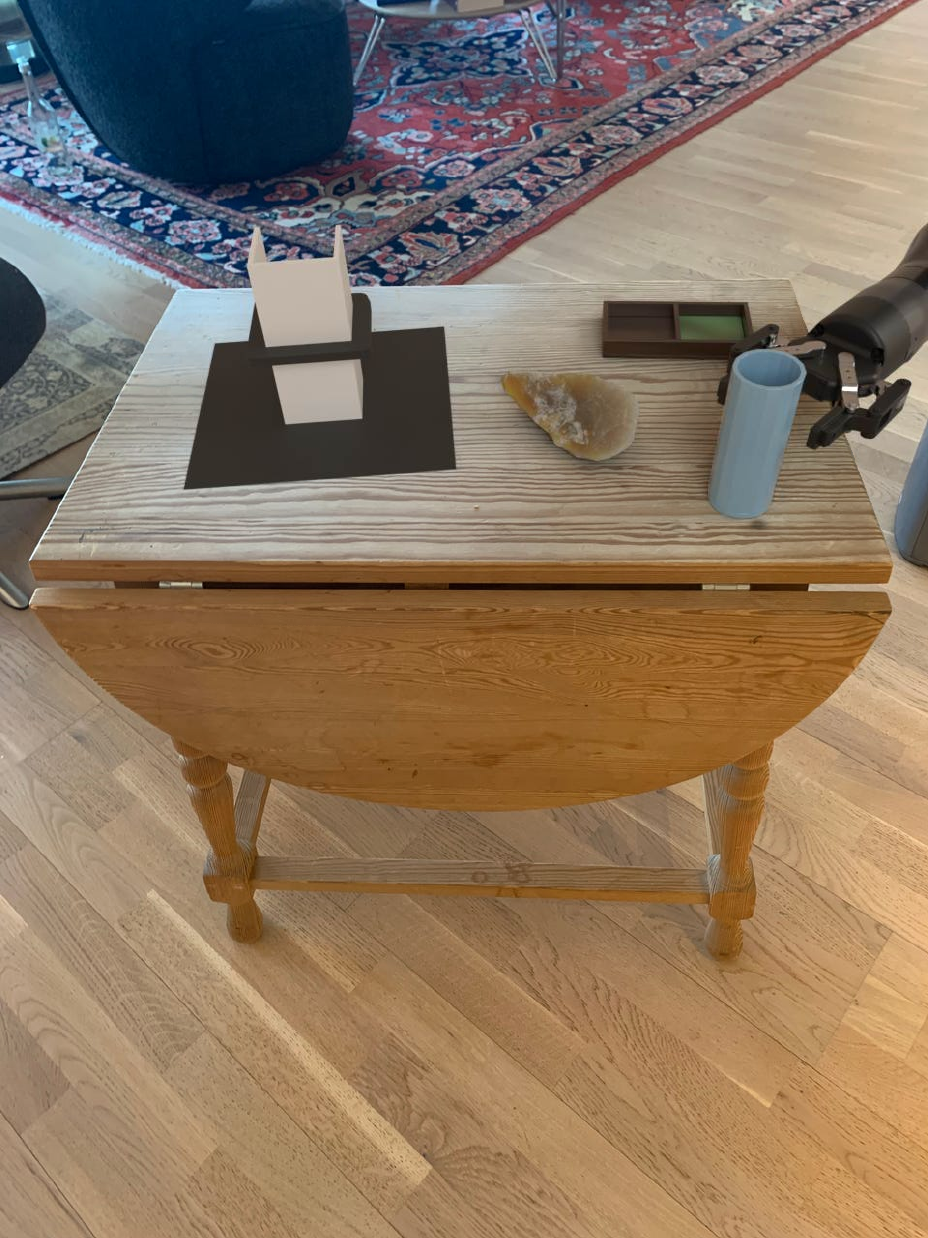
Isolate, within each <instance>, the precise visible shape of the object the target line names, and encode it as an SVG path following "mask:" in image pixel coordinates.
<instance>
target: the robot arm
mask: <svg viewBox="0 0 928 1238" xmlns="http://www.w3.org/2000/svg"><path fill="white" fill-rule="evenodd" d="M779 331H780V326H779V325H778V324H775V323H768V324H766V325H764V326H762V327H761V328H759V329H757V330H756V331H754V333H753V334H751V335H749V336H748V337H746V338H744V339H743V340H741V341H739V342H738V343H736V344H734V345H733V346H731V349H730V354H729V359H728V360H727V365H726V369H725V370H726V371H725V373H726V374H725V375H724V376H722V377H721V378H720V380H719V382H718V387H717V393H716V397H717V404H718V405H720V406H721V407H722V406H723V407H724V405H725V400H726V395H727V390H728V385H729V380H730V375H731V370H732V365H733V363H734V361H735V359H736V358H737V357H738V356H740V355H741V354H743V353H744V352H748V351H752V350H756V349H773V350H778V351H782V352H786V353H788V354H790V355H792V356H794V357H796V358H797V359H799V360H800V361H801V362H802V363H803V364H804V366H805V369H806V372H807V374H806V377H805V381H804V385H803V388H802V392H801V394H805V395H807V396H809V397H810V398H812V399H813V400H816V401H818V402H820V403H823V401H825V402H828V404H829V409H830V411H828V412H827V413H826V414H824V415H823V416H822V417H821V418H820V419H818V420H817V421H816V422H815V423H814V424H812V426H811V428H810V430H809V433H808V436H807V440H806V444H805V447H806V448H808V449H811V450H813V451H816V450H817V449H818V448H820V447H821V448H826V447H829V446H831V445H832V444H834V442H835V441H836V440H838V439H839V438H841V436H842V435H844V434H850V433H851V432H852V431H855V432H859V434H860V435H859V436H860V437H862V438H863V439H865V440H874V439H875V438H876V437H878V435H879V434H881V432H882V431H883V430H884V429H886V427H887V426H888V425H889V424H890V423H891V422H892V421H893V420H894V419H895V418H896V416H897V415H898V414H900V413H901V411H902V410H903V408H904V406H905V404H906V400H907V398H908V395H909V393H910V390H911V387H912V383H913V382H912V381H910V380H909V379H907V378H898V379H896V380H895V381H894V382H893V383H892V382H889V381H886V379H887V378H889V377H890V376H892V374H894V373H895V372H896V371H898V370H899V368H901V367H902V366H903V365H905V364H907V363H908V362H909V361H911V359H912V358H913V357H914V356H915V355H916V354H917V353H918V352H919V350H920V349H921V348H922V347H923V345H925V343H927V342H928V222H927V223H926V224H924V225H923V226H922V227H921V228H920V229H919V230H918V232H917V233H916V234H915V236H914V237H913V239H912V240H911V242H910V244H909V246H908V248H907V250H906V252H905V253H904V256H903V258H902V259H901V261H900V263H898V265H897V266H896V267H895V268H894V269H893V270H892V271H891V272H890V273H888V274H887V275H885V276H884V277H883V278H882V279H880V280H879V281H877V282H876V283H874V284H872V285H870V286H867V287H866V288H864V289H862V290H861V291H859V292H857V293H856V294H855V295H853V296H852V297H850V298H849V299H848V300H847V301H845V302H844V303H842V304H841V305H840V306H838V307H837V308H836V309H834V310H833V311H831V312H830V313H829V314H828V315H826V316H824V317H823V318H822V319H820V320H819V321H818V322H817V323H816V324H815V325H814V326H813V327H812V328H811V329H810V331H809V332H808V333H807V334H806V335H804V336H802V337H797V338H794V339H791V340H789V339H788V338H785V337H783V336H780V335H779ZM872 395H874V396H875V400H874V401H873V403H872V404H871V405H870V406H869V407H868V408H865V407H861V406H860V405H861V404H860V400H859V399H861V398H868V397H871V396H872Z"/></svg>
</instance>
